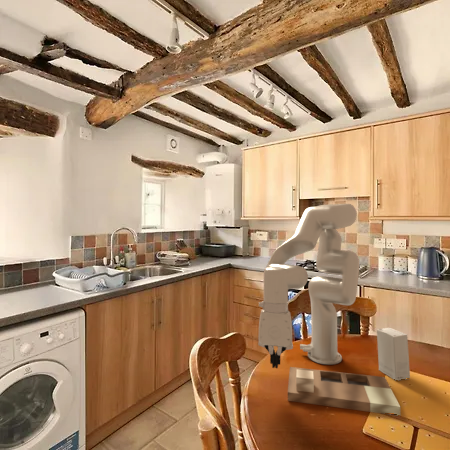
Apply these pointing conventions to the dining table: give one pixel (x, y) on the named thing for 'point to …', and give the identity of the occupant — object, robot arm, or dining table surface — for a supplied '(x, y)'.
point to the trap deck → (346, 391)
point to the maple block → (304, 381)
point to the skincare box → (393, 353)
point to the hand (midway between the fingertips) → (275, 366)
